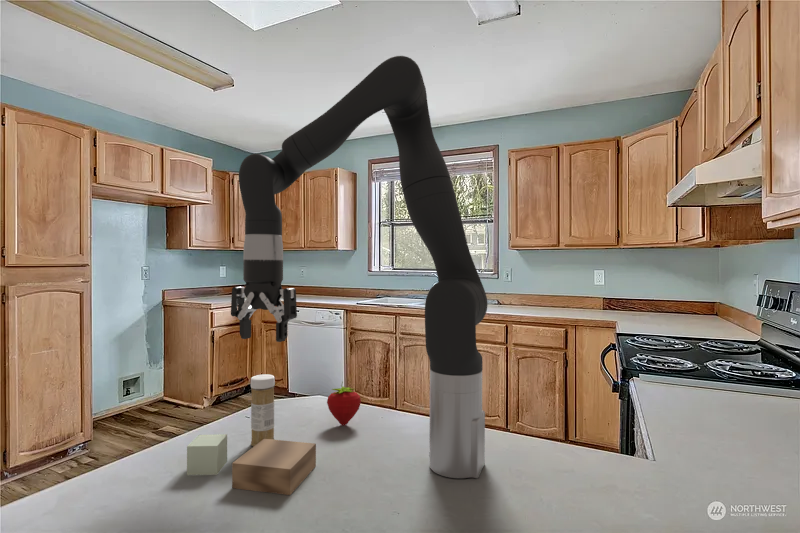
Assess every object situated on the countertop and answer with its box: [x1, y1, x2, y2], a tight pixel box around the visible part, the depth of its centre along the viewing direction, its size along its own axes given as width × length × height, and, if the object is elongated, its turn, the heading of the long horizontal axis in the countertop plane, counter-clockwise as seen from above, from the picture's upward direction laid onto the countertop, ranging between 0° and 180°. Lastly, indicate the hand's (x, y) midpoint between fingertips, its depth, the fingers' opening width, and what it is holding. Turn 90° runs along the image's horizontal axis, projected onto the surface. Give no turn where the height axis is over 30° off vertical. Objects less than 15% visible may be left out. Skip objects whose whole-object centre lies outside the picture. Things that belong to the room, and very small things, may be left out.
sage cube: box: [186, 433, 228, 476], centre depth 76 cm, size 5×5×5 cm
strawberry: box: [326, 381, 362, 426], centre depth 97 cm, size 6×8×10 cm
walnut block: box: [231, 439, 317, 496], centre depth 73 cm, size 10×10×4 cm
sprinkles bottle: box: [250, 373, 276, 448], centre depth 87 cm, size 5×5×14 cm
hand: (263, 339), depth 87 cm, fingers open, 8 cm apart
